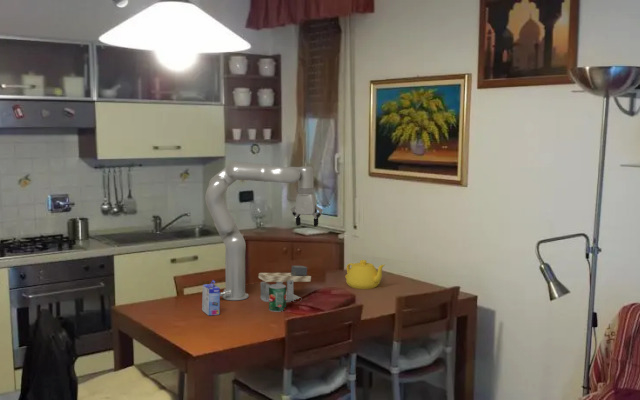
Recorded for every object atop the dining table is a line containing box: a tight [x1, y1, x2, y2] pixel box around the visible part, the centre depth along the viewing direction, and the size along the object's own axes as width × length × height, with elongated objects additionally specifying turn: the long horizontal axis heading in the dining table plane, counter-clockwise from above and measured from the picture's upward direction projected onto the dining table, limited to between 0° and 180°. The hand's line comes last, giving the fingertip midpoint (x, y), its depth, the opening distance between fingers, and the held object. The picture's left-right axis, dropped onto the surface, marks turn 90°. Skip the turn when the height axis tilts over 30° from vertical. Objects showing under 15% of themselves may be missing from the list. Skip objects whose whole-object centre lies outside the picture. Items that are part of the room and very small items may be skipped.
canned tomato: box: [268, 283, 287, 313], centre depth 298 cm, size 8×8×11 cm
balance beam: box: [258, 272, 312, 283], centre depth 318 cm, size 24×9×3 cm, turn 119°
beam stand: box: [260, 280, 301, 303], centre depth 317 cm, size 16×16×10 cm
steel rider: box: [290, 265, 308, 276], centre depth 322 cm, size 6×5×5 cm
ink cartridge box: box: [201, 279, 221, 317], centre depth 292 cm, size 10×6×14 cm, turn 27°
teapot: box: [345, 259, 385, 290], centre depth 344 cm, size 25×18×14 cm
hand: (307, 225), depth 324 cm, fingers open, 9 cm apart
